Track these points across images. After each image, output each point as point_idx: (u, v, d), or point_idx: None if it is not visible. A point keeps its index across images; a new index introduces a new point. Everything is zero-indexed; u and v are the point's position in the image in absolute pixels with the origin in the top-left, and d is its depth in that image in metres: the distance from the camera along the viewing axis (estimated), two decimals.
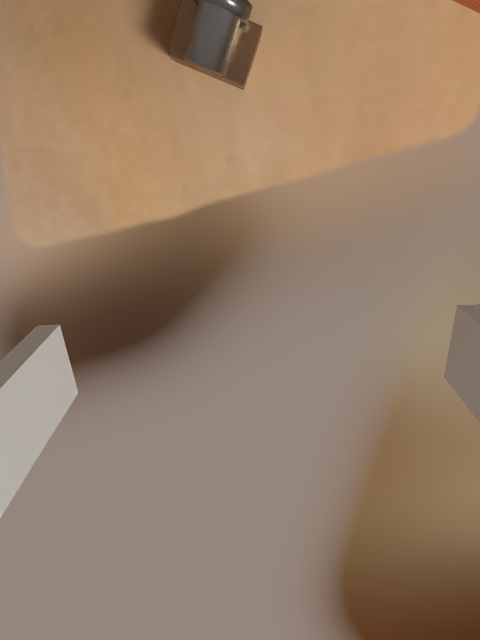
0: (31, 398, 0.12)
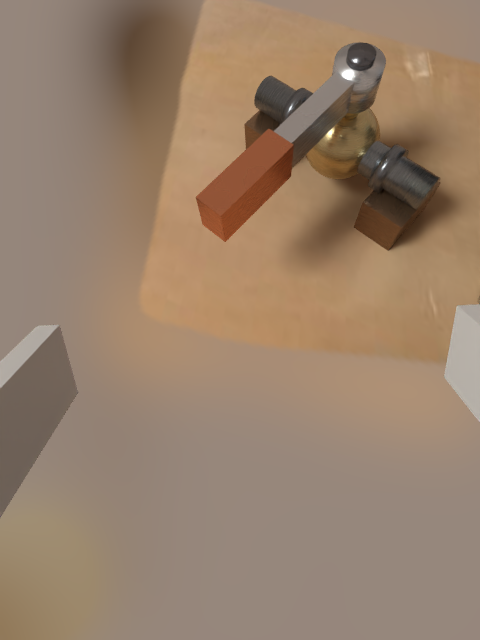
0: (31, 398, 0.12)
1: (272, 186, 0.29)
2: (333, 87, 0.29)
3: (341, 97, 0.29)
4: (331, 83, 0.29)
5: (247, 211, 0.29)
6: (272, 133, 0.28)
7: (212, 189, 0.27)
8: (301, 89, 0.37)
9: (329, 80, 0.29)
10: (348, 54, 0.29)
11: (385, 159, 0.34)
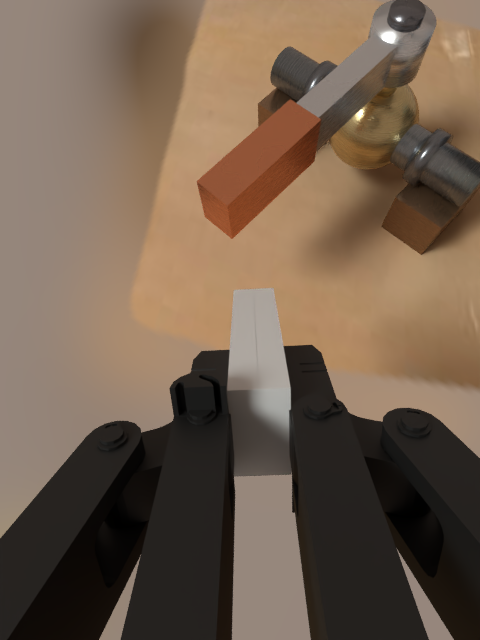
0: None
1: (292, 172, 0.24)
2: (371, 51, 0.24)
3: (380, 64, 0.24)
4: (368, 47, 0.24)
5: (260, 202, 0.23)
6: (294, 105, 0.22)
7: (218, 172, 0.21)
8: (326, 62, 0.31)
9: (366, 43, 0.24)
10: (390, 11, 0.24)
11: (426, 145, 0.28)
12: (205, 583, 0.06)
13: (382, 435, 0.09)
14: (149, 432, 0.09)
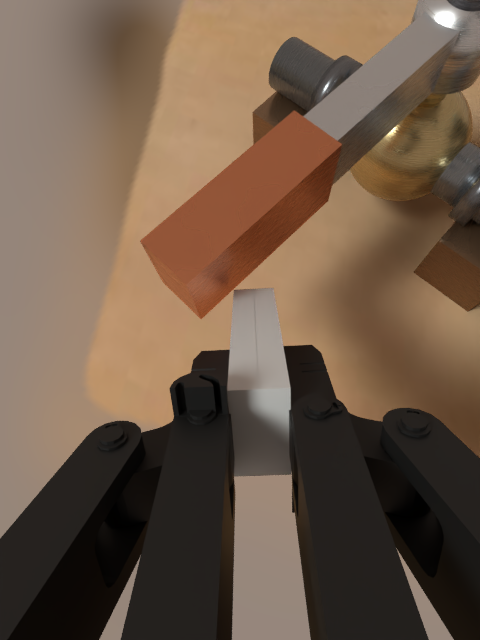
0: None
1: (294, 220, 0.16)
2: (419, 40, 0.16)
3: (433, 59, 0.16)
4: (415, 33, 0.16)
5: (245, 266, 0.15)
6: (301, 120, 0.14)
7: (175, 226, 0.13)
8: (344, 57, 0.23)
9: (411, 27, 0.16)
10: None
11: None
12: (205, 583, 0.06)
13: (382, 435, 0.09)
14: (149, 432, 0.09)
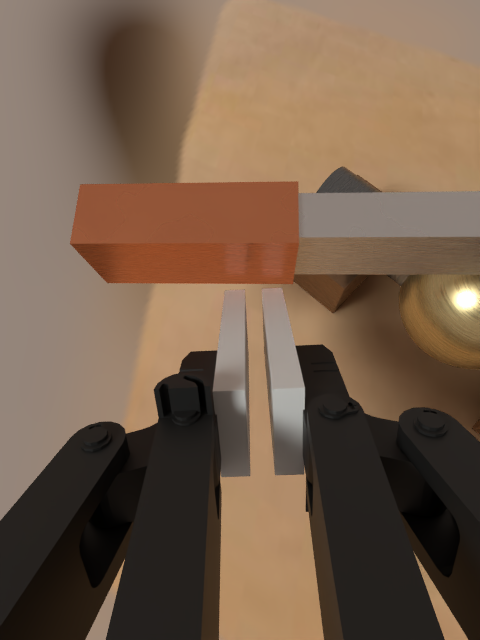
0: (246, 347, 0.14)
1: (234, 273, 0.15)
2: None
3: None
4: None
5: (162, 273, 0.15)
6: (293, 194, 0.13)
7: (112, 195, 0.14)
8: None
9: None
10: None
11: None
12: (190, 583, 0.06)
13: (398, 434, 0.09)
14: (134, 433, 0.09)
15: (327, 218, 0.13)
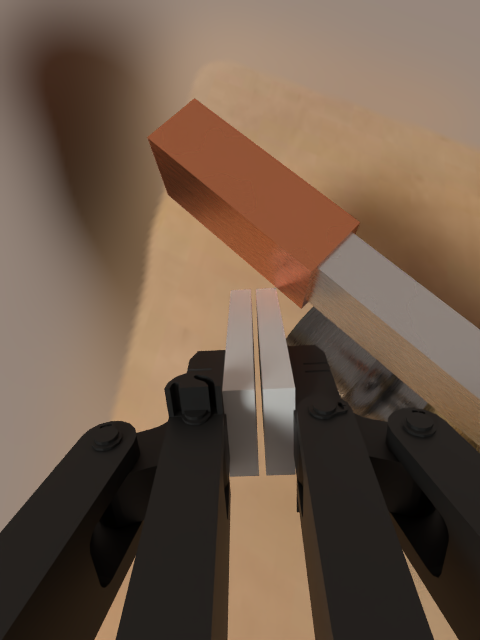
0: None
1: (258, 260, 0.15)
2: None
3: (478, 404, 0.11)
4: None
5: (206, 216, 0.15)
6: (345, 229, 0.12)
7: (209, 123, 0.14)
8: None
9: None
10: None
11: None
12: (200, 583, 0.06)
13: (387, 435, 0.09)
14: (144, 432, 0.09)
15: (356, 271, 0.12)
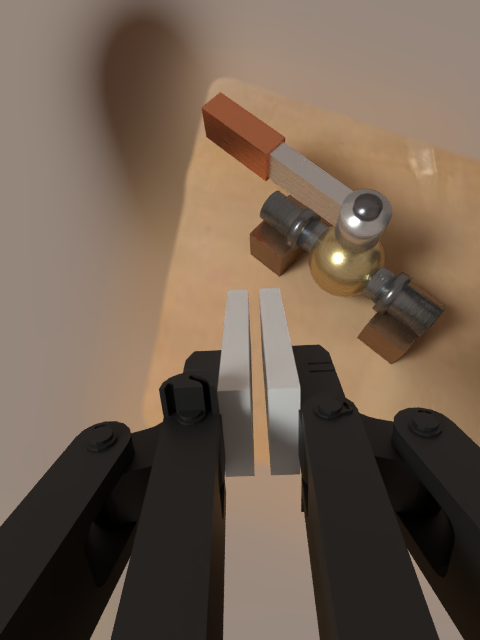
0: None
1: (247, 159, 0.35)
2: (334, 188, 0.31)
3: (325, 197, 0.31)
4: (339, 187, 0.31)
5: (224, 143, 0.35)
6: (279, 139, 0.32)
7: (226, 102, 0.34)
8: (306, 210, 0.37)
9: (343, 185, 0.31)
10: (366, 194, 0.30)
11: (390, 290, 0.34)
12: (195, 583, 0.06)
13: (393, 434, 0.09)
14: (139, 432, 0.09)
15: (283, 154, 0.32)
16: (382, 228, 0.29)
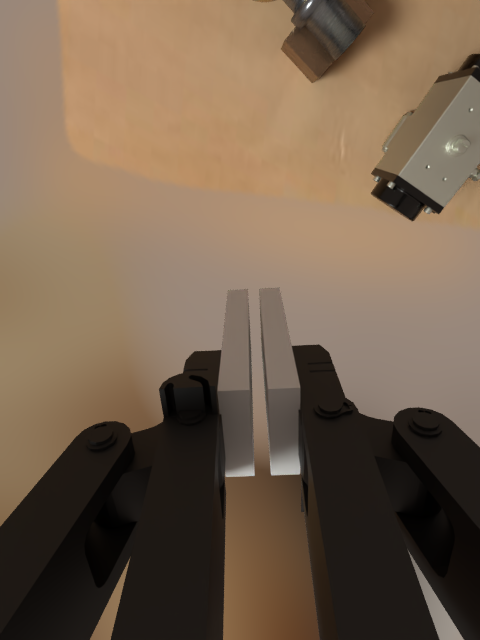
0: None
1: None
2: None
3: None
4: None
5: None
6: None
7: None
8: None
9: None
10: None
11: (307, 2, 0.30)
12: (195, 583, 0.06)
13: (393, 434, 0.09)
14: (139, 432, 0.09)
15: None
16: None
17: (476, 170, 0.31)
